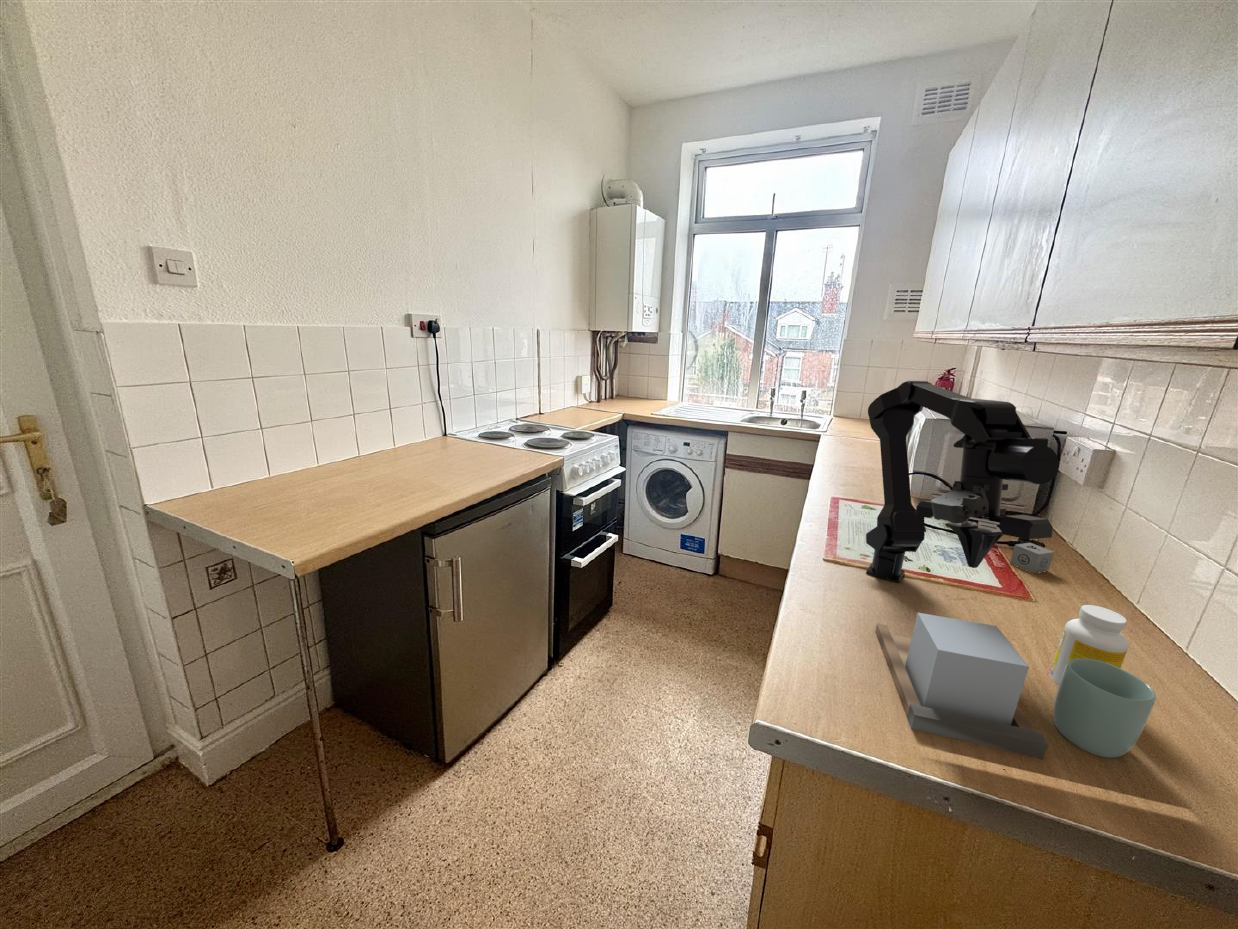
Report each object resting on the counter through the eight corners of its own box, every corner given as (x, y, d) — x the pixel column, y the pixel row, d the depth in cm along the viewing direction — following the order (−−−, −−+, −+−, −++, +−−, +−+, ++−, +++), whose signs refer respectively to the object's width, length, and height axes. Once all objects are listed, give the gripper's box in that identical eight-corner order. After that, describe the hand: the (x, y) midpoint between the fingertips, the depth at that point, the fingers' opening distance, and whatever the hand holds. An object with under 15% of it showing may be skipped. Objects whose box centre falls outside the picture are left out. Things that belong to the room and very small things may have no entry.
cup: (1146, 765, 58) (1174, 698, 56) (1094, 773, 57) (1121, 704, 54) (1078, 716, 66) (1100, 655, 63) (1031, 722, 64) (1051, 659, 62)
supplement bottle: (1121, 709, 67) (1151, 631, 64) (1067, 701, 69) (1094, 623, 65) (1086, 677, 74) (1112, 604, 70) (1038, 670, 75) (1061, 598, 71)
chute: (874, 635, 82) (877, 620, 81) (970, 653, 78) (974, 637, 77) (909, 733, 62) (914, 714, 61) (1041, 764, 58) (1048, 744, 57)
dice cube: (1024, 561, 112) (1030, 542, 111) (1048, 571, 108) (1054, 552, 106) (1009, 564, 111) (1014, 544, 109) (1032, 574, 106) (1038, 554, 105)
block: (904, 669, 73) (917, 612, 70) (979, 684, 70) (996, 625, 67) (922, 712, 64) (938, 649, 62) (1008, 731, 62) (1029, 666, 59)
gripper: (896, 470, 85) (889, 555, 87) (1008, 484, 68) (998, 590, 69) (941, 470, 89) (934, 551, 90) (1060, 483, 71) (1048, 584, 73)
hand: (972, 567), depth 81 cm, fingers closed
